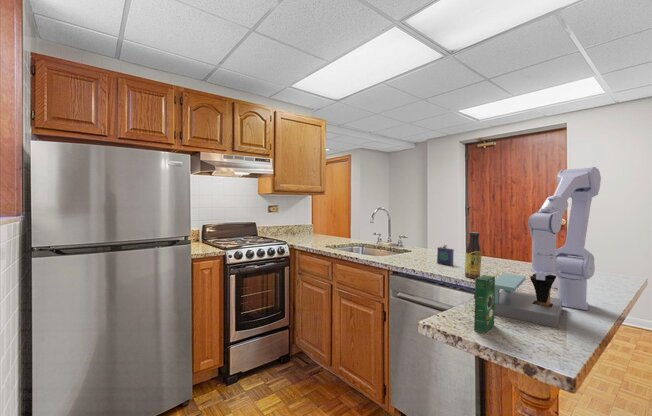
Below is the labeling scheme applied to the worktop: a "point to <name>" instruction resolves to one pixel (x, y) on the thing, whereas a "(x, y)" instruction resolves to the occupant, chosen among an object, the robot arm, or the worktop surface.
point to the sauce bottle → (473, 257)
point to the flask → (445, 256)
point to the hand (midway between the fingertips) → (542, 300)
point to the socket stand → (523, 302)
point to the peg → (544, 303)
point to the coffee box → (484, 303)
